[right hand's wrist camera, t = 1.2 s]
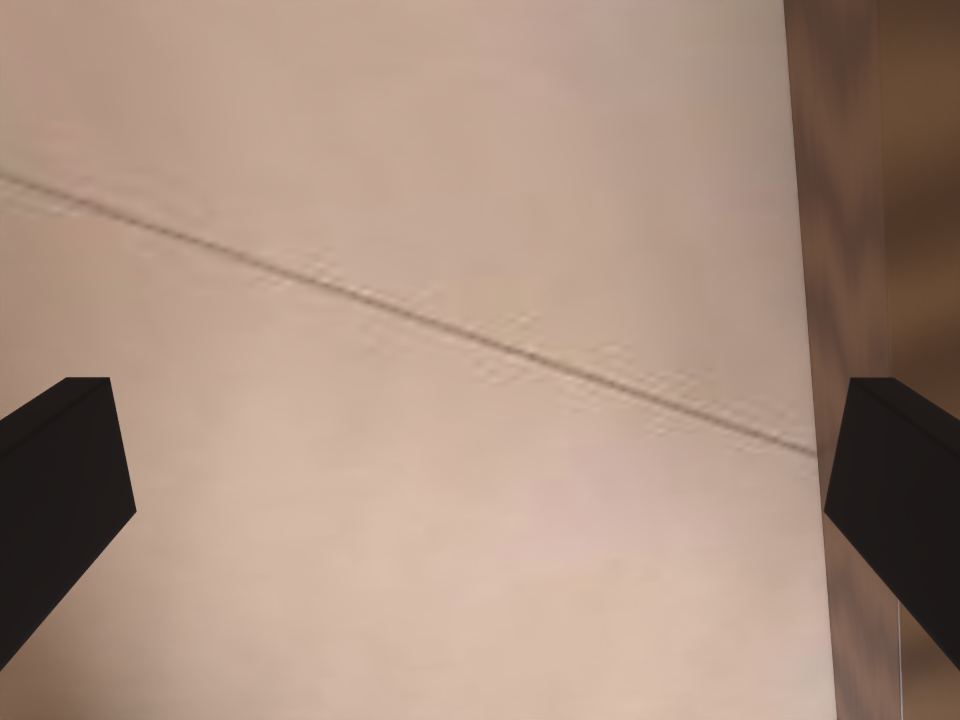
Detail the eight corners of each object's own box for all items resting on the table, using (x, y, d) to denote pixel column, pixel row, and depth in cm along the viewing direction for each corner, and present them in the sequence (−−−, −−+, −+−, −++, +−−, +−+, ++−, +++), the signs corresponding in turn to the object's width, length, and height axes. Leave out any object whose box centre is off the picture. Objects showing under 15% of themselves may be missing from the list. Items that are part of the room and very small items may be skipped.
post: (767, -199, 27) (868, -306, 20) (884, -232, 26) (1027, -352, 19) (846, 841, 47) (909, 967, 40) (912, 830, 47) (987, 956, 40)
